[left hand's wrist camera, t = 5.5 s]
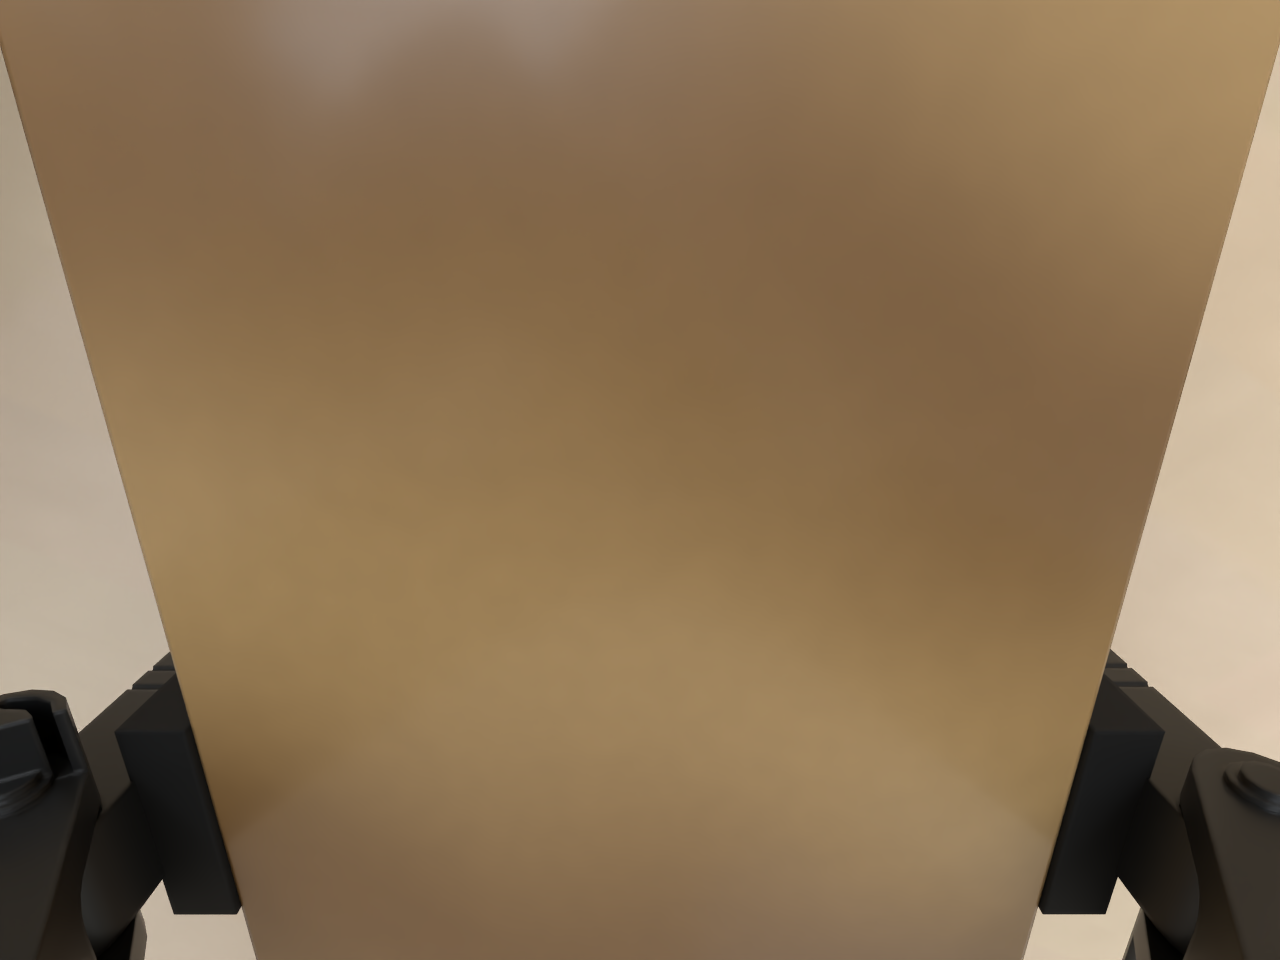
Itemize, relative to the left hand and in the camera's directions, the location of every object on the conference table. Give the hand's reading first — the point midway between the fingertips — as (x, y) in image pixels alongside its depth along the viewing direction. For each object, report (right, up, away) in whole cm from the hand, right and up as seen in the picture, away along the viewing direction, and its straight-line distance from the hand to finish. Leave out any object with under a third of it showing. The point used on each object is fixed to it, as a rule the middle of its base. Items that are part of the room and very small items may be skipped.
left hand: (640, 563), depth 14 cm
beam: (0, +35, -12) cm, 37 cm away
